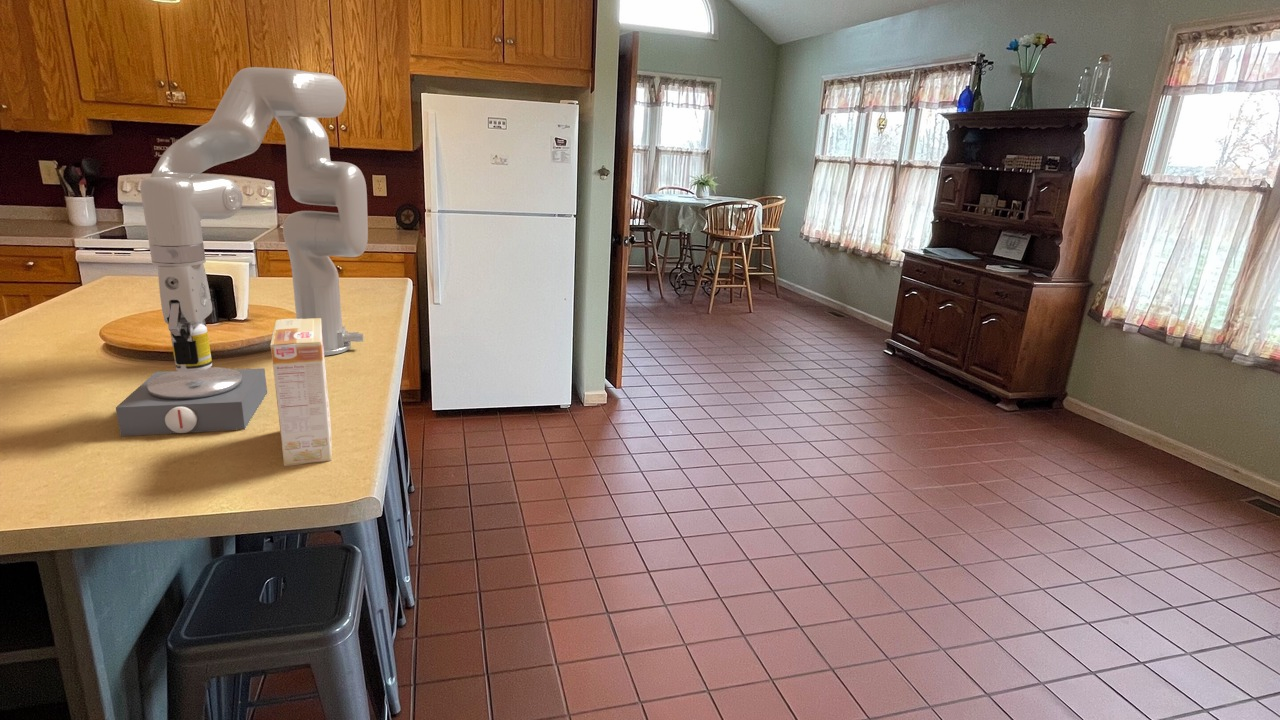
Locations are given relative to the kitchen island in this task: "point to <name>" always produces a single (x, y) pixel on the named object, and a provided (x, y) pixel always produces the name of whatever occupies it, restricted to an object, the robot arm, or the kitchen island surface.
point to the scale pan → (194, 383)
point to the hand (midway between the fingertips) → (193, 357)
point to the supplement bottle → (202, 349)
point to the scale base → (192, 408)
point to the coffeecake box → (301, 390)
